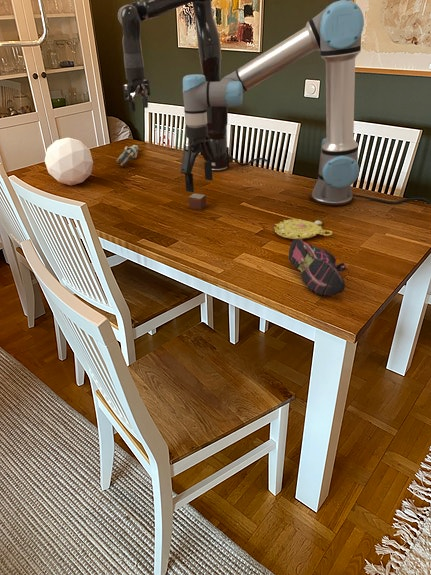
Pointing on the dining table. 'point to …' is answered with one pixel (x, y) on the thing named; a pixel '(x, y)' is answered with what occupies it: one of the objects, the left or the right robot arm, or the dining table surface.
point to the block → (197, 201)
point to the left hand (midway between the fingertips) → (139, 109)
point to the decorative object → (300, 229)
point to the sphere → (69, 161)
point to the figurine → (128, 154)
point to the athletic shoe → (317, 268)
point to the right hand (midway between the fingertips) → (199, 185)
